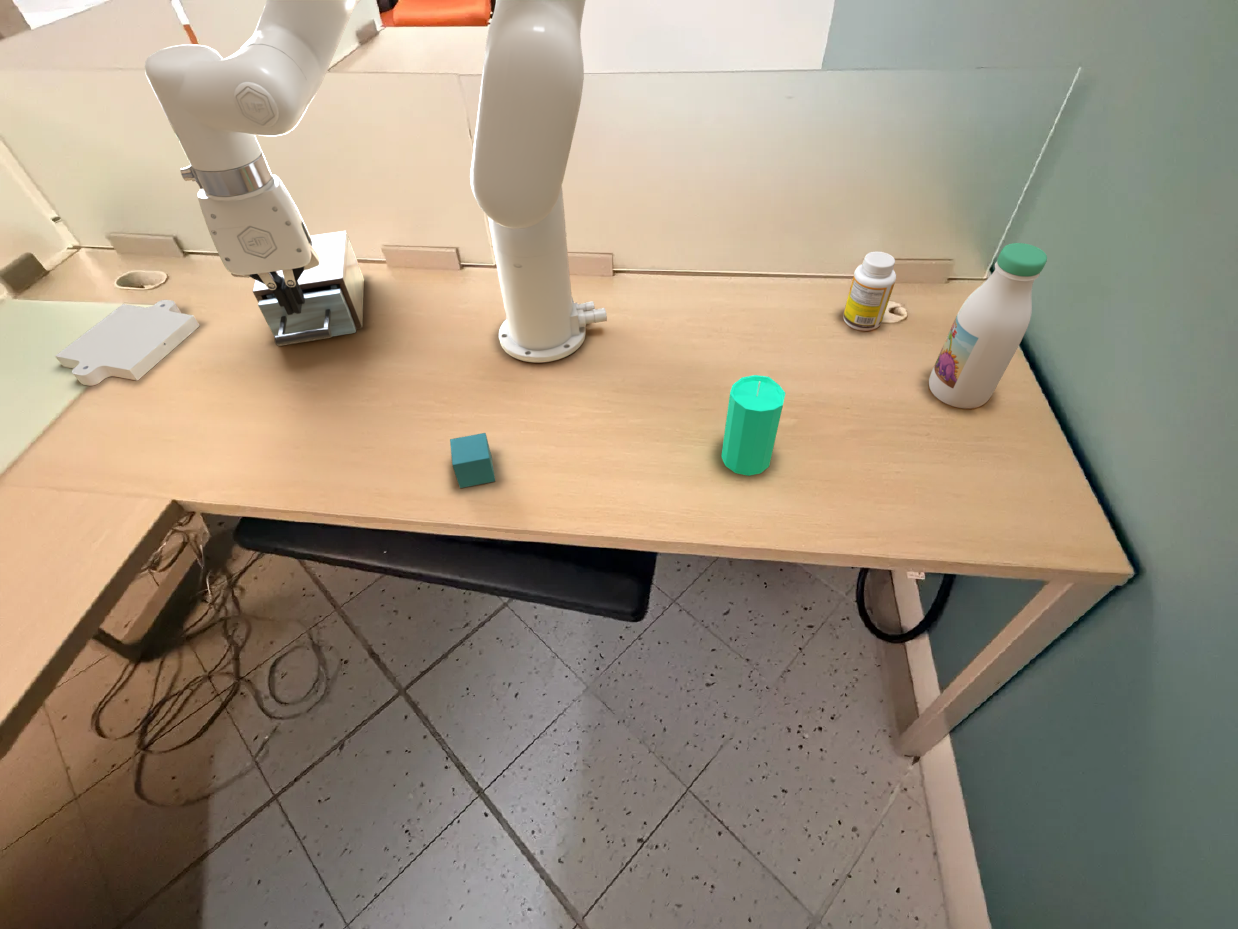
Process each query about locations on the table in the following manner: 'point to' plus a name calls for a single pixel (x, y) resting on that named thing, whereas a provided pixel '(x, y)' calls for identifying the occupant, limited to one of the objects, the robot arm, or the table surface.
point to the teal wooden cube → (472, 460)
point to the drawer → (309, 316)
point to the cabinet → (331, 272)
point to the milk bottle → (988, 330)
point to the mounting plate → (127, 342)
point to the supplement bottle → (870, 291)
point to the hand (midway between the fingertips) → (295, 308)
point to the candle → (752, 424)
